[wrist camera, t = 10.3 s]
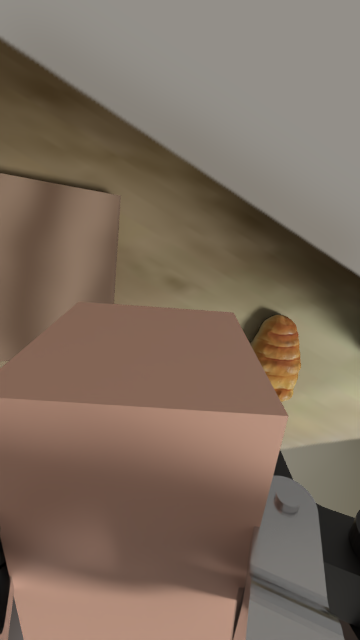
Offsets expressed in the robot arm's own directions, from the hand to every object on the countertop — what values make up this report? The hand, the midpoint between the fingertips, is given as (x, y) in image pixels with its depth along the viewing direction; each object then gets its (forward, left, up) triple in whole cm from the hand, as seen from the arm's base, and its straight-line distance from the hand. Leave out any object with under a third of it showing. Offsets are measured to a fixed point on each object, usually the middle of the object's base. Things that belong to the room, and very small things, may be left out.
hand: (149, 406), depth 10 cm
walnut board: (+6, -4, -17) cm, 18 cm away
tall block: (0, +7, +1) cm, 7 cm away
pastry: (-18, +4, -17) cm, 25 cm away
